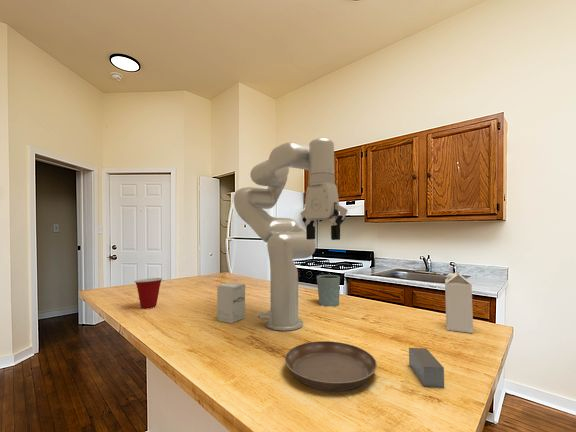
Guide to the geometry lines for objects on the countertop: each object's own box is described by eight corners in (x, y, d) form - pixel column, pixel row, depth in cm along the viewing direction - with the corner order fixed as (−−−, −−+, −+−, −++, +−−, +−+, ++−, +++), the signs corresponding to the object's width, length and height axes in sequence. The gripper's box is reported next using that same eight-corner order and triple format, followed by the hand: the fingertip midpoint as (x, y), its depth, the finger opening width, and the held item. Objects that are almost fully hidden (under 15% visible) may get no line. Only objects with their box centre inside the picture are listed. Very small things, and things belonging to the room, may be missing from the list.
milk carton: (470, 326, 99) (468, 269, 100) (473, 333, 92) (471, 272, 93) (446, 324, 102) (444, 268, 103) (447, 330, 95) (445, 270, 96)
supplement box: (231, 323, 103) (232, 286, 104) (216, 320, 107) (216, 284, 108) (245, 318, 110) (245, 283, 110) (230, 315, 114) (230, 281, 114)
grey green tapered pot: (342, 307, 125) (341, 278, 125) (317, 307, 125) (317, 278, 125) (338, 301, 135) (338, 274, 135) (315, 301, 135) (315, 274, 136)
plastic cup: (153, 302, 134) (153, 275, 134) (167, 306, 127) (167, 277, 128) (128, 307, 125) (129, 279, 126) (142, 312, 119) (142, 281, 119)
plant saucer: (397, 388, 61) (396, 372, 62) (302, 405, 56) (302, 387, 56) (349, 349, 81) (348, 337, 81) (275, 359, 75) (275, 346, 75)
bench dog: (424, 386, 62) (423, 366, 62) (409, 364, 72) (408, 347, 72) (444, 387, 61) (443, 367, 61) (426, 365, 71) (426, 348, 71)
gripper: (292, 184, 92) (293, 239, 91) (336, 175, 79) (337, 240, 78) (309, 186, 97) (310, 238, 96) (353, 178, 84) (355, 239, 83)
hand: (322, 239), depth 87 cm, fingers open, 9 cm apart
